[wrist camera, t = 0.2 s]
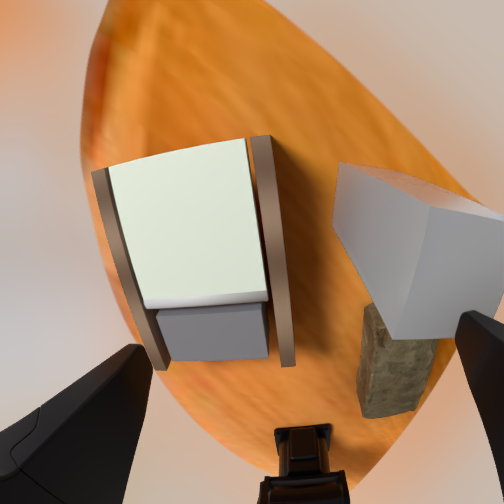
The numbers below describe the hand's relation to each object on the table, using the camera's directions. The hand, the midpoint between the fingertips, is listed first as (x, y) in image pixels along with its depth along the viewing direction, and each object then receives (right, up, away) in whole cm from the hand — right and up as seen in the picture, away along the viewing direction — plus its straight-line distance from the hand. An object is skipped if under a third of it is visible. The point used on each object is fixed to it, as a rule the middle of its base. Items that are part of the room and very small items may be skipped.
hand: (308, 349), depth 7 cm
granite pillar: (+7, +6, +13) cm, 16 cm away
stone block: (+11, -6, +18) cm, 22 cm away
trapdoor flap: (-5, +3, +14) cm, 15 cm away
